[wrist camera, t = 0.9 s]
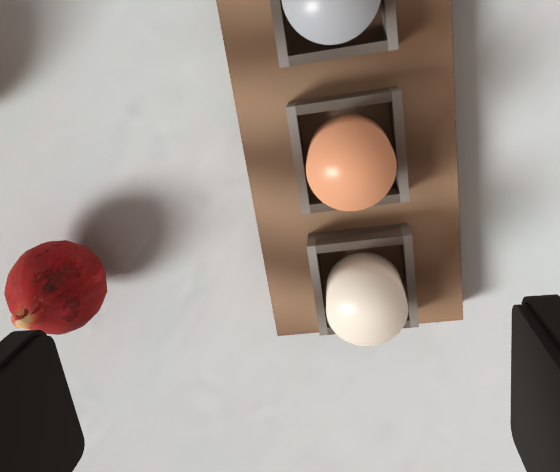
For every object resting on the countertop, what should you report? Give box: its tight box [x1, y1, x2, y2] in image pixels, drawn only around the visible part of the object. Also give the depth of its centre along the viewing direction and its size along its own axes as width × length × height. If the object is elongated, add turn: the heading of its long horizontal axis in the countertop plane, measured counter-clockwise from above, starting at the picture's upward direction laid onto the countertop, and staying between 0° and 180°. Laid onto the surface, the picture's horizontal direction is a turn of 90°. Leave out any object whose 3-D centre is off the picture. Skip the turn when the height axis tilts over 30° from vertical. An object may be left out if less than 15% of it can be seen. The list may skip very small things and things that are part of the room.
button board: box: [216, 0, 463, 336], centre depth 31 cm, size 24×12×4 cm, turn 9°
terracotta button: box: [306, 114, 397, 211], centre depth 27 cm, size 4×4×3 cm
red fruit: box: [5, 240, 107, 335], centre depth 33 cm, size 6×6×8 cm
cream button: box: [326, 252, 408, 346], centre depth 30 cm, size 4×4×3 cm
